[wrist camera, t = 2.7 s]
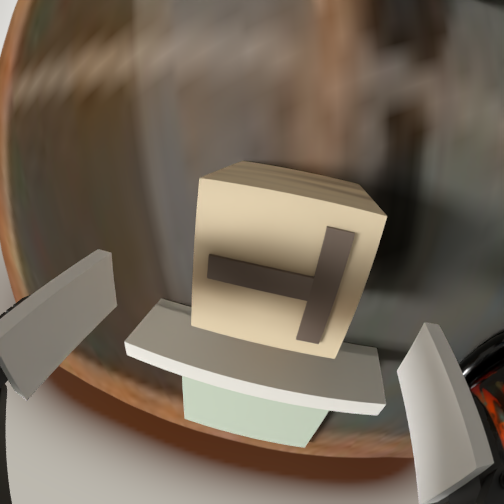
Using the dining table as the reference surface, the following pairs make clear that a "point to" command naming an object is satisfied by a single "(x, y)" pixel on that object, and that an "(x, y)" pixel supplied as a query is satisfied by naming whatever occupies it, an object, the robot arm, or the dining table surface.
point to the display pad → (250, 414)
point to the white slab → (259, 364)
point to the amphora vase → (487, 386)
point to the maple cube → (282, 256)
